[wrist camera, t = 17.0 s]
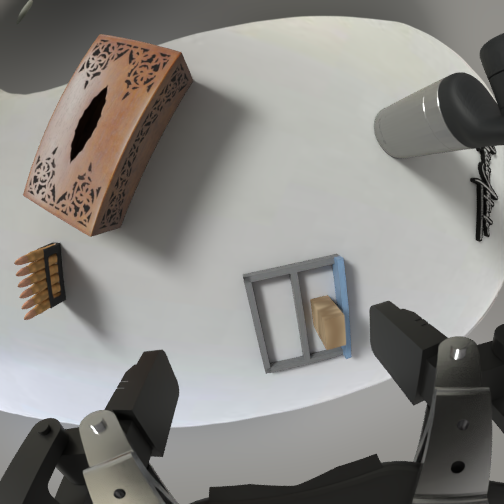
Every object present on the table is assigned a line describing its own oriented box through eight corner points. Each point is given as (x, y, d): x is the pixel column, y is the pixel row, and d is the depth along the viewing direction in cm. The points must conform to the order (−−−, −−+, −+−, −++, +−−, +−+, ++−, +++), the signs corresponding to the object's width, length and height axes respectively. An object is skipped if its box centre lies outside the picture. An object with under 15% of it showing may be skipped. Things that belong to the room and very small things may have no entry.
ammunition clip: (53, 242, 40) (10, 256, 28) (60, 242, 40) (17, 257, 28) (58, 298, 42) (21, 323, 30) (66, 299, 42) (29, 325, 30)
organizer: (336, 253, 42) (343, 258, 39) (345, 348, 46) (351, 357, 43) (243, 274, 42) (243, 280, 40) (265, 368, 46) (266, 378, 43)
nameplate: (465, 108, 37) (491, 118, 37) (461, 109, 38) (487, 119, 38) (472, 242, 42) (497, 240, 42) (468, 240, 44) (492, 239, 44)
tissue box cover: (123, 59, 34) (99, 34, 25) (193, 80, 36) (181, 52, 26) (59, 193, 39) (23, 195, 29) (121, 227, 40) (90, 236, 31)
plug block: (327, 295, 44) (344, 315, 36) (330, 321, 45) (346, 344, 37) (310, 299, 44) (323, 320, 36) (313, 326, 45) (326, 350, 37)
